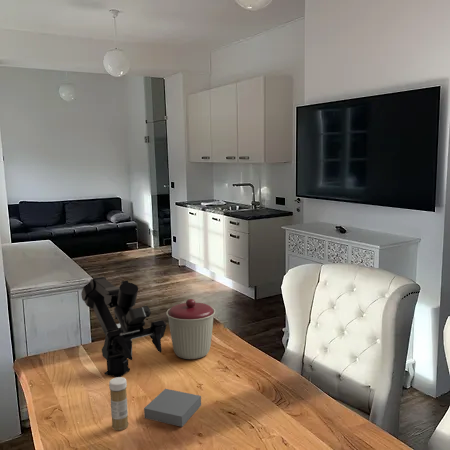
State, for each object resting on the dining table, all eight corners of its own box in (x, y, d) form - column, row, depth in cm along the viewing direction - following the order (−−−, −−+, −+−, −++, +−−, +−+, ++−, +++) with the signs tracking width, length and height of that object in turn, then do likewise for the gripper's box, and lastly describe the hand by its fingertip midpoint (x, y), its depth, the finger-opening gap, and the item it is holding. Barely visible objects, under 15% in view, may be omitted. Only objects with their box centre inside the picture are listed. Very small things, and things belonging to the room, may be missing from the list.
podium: (144, 418, 132) (144, 408, 132) (165, 397, 143) (165, 388, 143) (182, 426, 128) (181, 416, 127) (201, 405, 139) (200, 395, 138)
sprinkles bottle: (126, 420, 131) (124, 375, 129) (130, 428, 127) (128, 382, 125) (109, 424, 129) (107, 378, 127) (113, 433, 125) (111, 385, 123)
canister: (189, 340, 188) (187, 289, 185) (225, 351, 177) (224, 297, 174) (157, 356, 173) (155, 301, 170) (195, 368, 163) (193, 310, 160)
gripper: (101, 305, 138) (119, 343, 128) (159, 294, 149) (180, 329, 138) (97, 331, 144) (114, 370, 134) (153, 319, 154) (173, 354, 144)
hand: (146, 355), depth 137 cm, fingers open, 9 cm apart
